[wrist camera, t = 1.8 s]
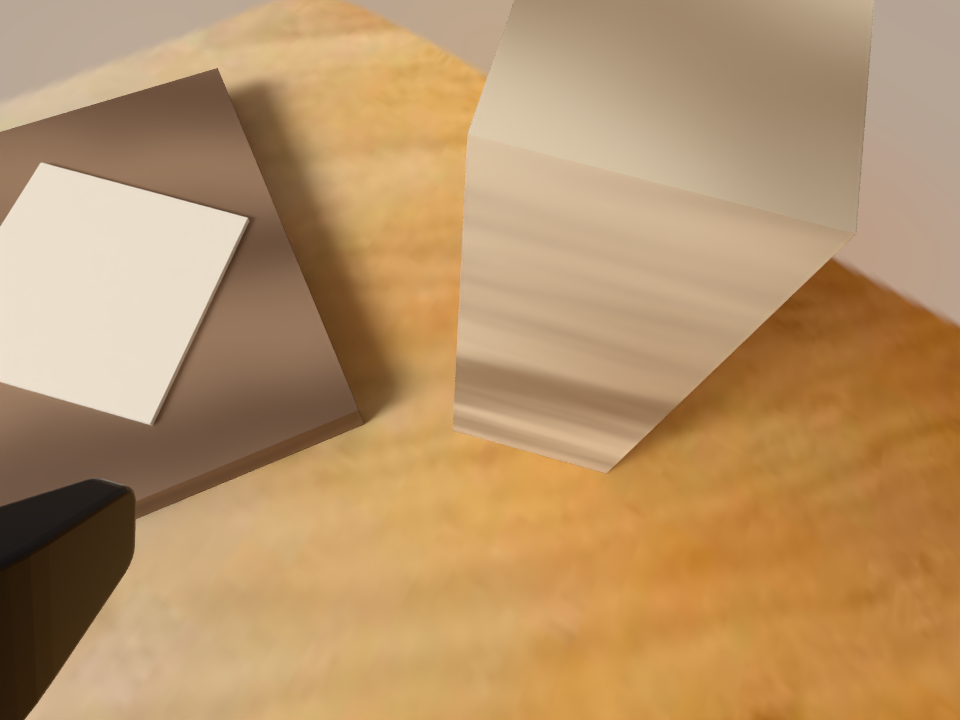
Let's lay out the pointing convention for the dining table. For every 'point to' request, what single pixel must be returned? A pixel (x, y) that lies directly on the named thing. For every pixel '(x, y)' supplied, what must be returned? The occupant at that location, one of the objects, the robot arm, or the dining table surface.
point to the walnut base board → (152, 304)
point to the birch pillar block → (646, 205)
